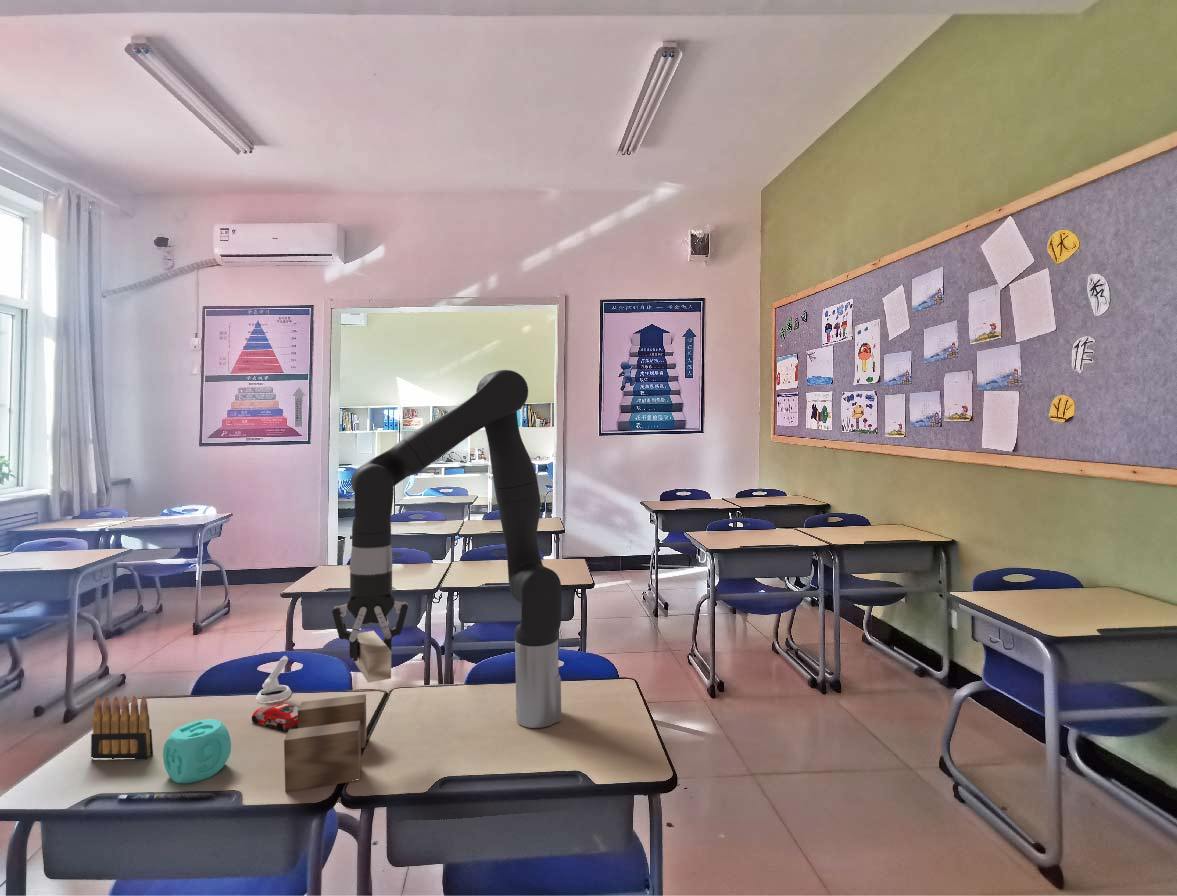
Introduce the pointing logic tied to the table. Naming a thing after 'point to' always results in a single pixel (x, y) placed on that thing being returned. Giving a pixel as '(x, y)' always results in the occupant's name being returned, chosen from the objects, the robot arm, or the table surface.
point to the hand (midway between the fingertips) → (370, 658)
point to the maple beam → (373, 657)
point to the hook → (274, 684)
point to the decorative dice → (196, 751)
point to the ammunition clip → (121, 730)
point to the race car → (277, 716)
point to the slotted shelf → (326, 743)
